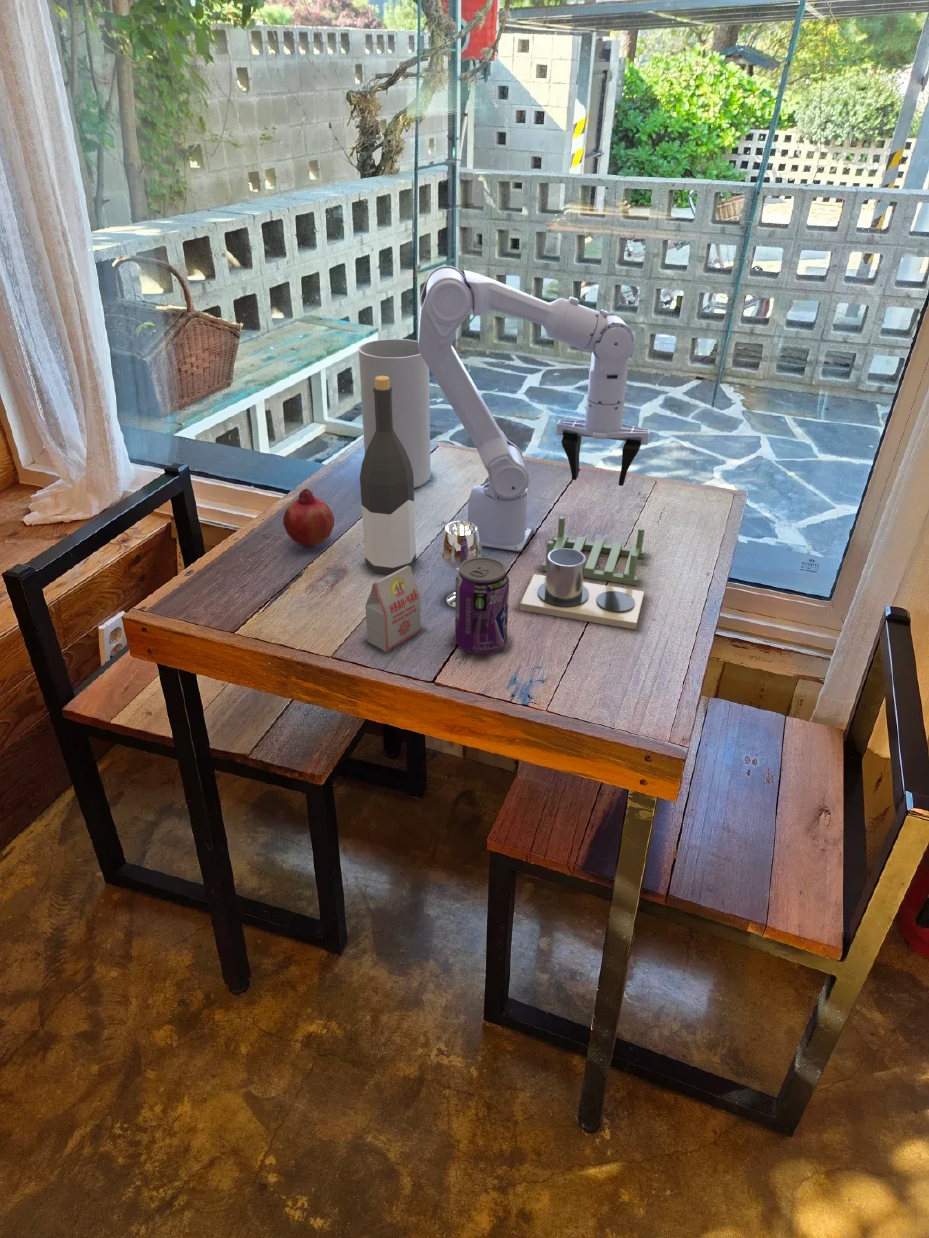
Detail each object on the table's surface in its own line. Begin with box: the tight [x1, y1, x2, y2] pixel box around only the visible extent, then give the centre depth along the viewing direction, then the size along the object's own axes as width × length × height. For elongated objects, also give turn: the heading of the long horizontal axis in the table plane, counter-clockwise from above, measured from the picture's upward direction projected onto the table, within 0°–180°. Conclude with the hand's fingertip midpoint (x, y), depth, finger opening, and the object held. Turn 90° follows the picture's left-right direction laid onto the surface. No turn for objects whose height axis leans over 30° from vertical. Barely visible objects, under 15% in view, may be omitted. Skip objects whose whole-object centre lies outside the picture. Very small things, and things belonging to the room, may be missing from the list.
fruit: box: [282, 488, 335, 548], centre depth 135 cm, size 8×8×10 cm
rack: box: [541, 516, 646, 586], centre depth 132 cm, size 15×10×5 cm
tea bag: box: [364, 565, 422, 652], centre depth 112 cm, size 4×7×10 cm, turn 139°
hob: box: [519, 573, 645, 631], centre depth 122 cm, size 17×9×2 cm, turn 73°
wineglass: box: [441, 520, 483, 608], centre depth 120 cm, size 6×6×12 cm
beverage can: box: [454, 556, 510, 655], centre depth 110 cm, size 7×7×12 cm
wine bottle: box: [359, 376, 417, 576], centre depth 124 cm, size 8×8×30 cm
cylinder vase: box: [358, 338, 432, 489], centre depth 153 cm, size 12×12×25 cm
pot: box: [545, 547, 587, 602], centre depth 121 cm, size 6×6×6 cm
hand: (598, 480), depth 135 cm, fingers open, 7 cm apart
